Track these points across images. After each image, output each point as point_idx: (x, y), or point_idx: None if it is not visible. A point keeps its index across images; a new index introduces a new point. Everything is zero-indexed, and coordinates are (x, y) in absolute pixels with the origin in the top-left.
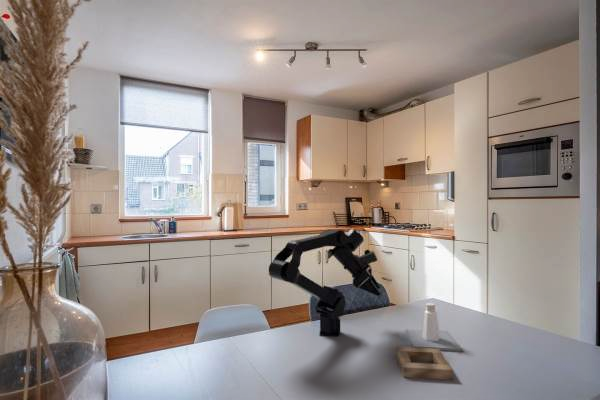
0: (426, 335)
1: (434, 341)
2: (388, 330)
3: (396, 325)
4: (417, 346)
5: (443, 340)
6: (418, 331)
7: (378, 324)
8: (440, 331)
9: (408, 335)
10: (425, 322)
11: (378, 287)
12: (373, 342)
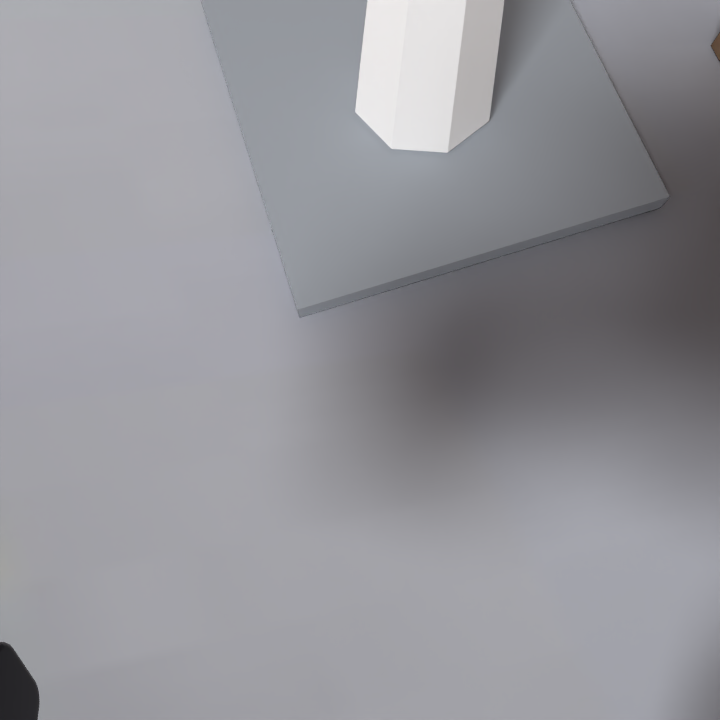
0: (490, 96)
1: None
2: (338, 471)
3: (163, 419)
4: (653, 171)
5: None
6: (310, 196)
7: (200, 611)
8: (237, 42)
9: (451, 261)
10: (484, 21)
11: (17, 690)
12: (714, 549)
